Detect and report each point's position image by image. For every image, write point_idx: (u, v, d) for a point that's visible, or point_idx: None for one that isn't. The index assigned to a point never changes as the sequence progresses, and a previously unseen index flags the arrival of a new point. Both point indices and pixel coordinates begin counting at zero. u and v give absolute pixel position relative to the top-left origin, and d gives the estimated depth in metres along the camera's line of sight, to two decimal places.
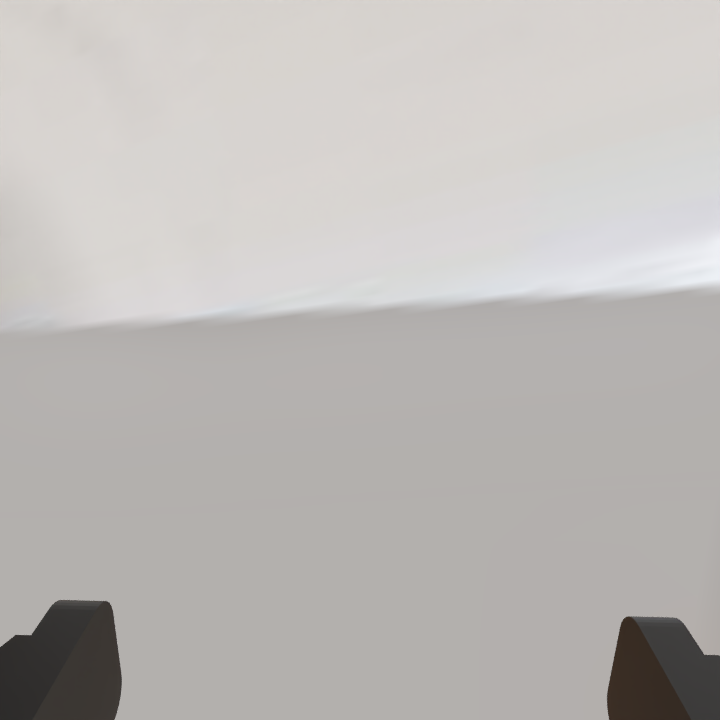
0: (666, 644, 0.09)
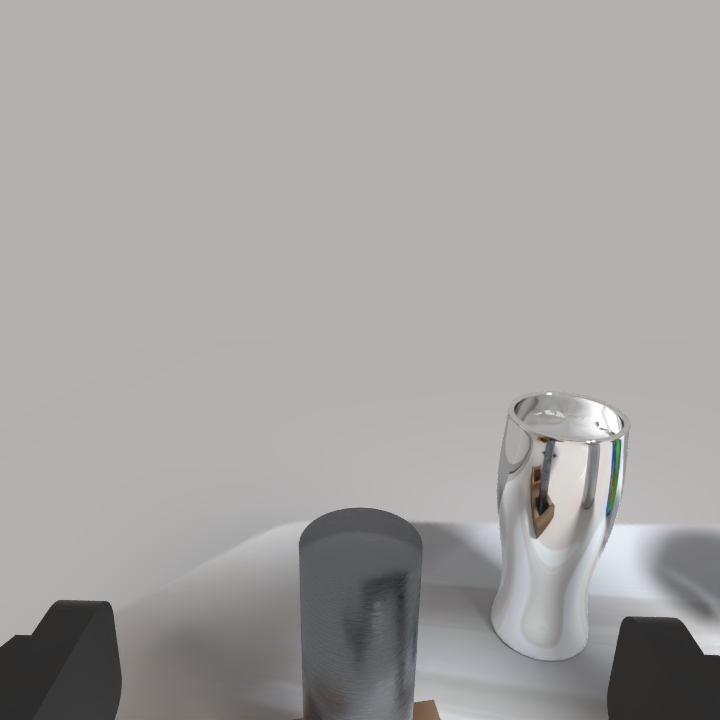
0: (666, 644, 0.09)
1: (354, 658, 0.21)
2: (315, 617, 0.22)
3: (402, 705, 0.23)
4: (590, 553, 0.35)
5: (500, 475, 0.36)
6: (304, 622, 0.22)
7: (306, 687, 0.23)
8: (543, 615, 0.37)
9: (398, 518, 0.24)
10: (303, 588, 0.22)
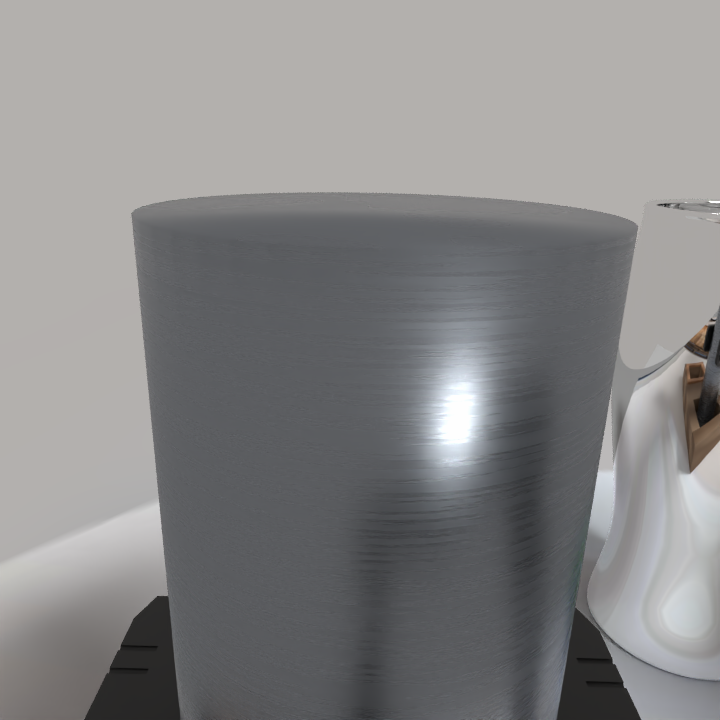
0: None
1: (354, 657, 0.05)
2: (185, 476, 0.05)
3: None
4: None
5: (626, 334, 0.20)
6: (162, 518, 0.06)
7: None
8: (703, 596, 0.20)
9: (502, 200, 0.07)
10: (147, 367, 0.05)
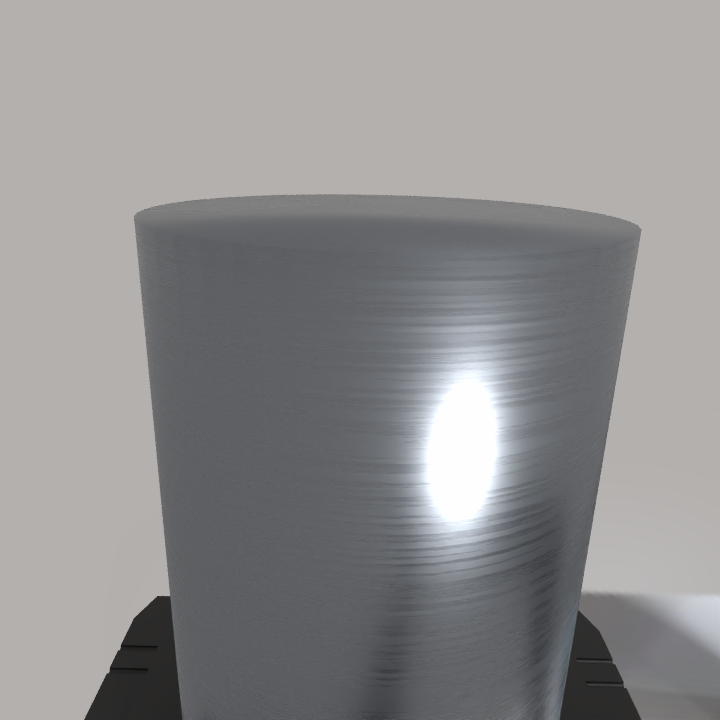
0: None
1: (357, 658, 0.05)
2: (189, 479, 0.05)
3: None
4: None
5: None
6: (165, 521, 0.06)
7: None
8: None
9: (504, 202, 0.07)
10: (150, 370, 0.05)
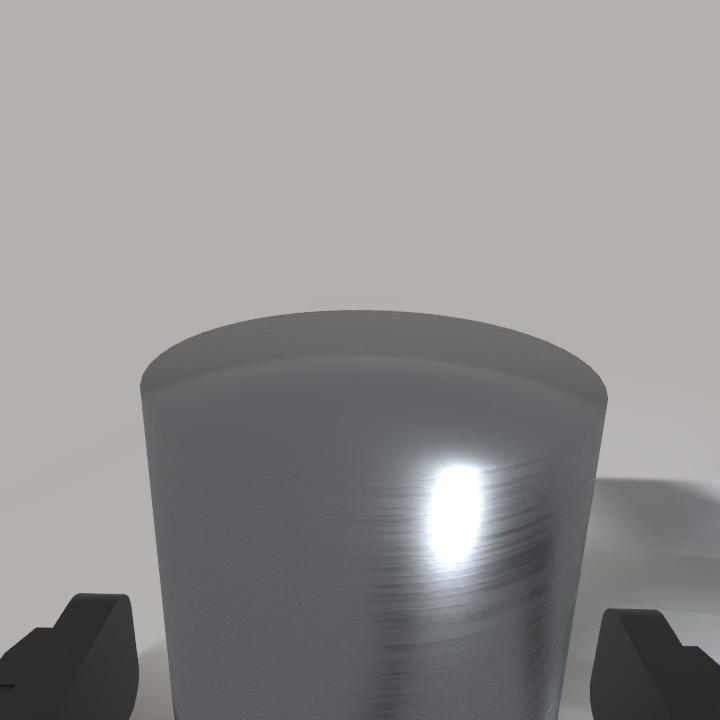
0: (645, 635, 0.09)
1: None
2: (192, 635, 0.05)
3: None
4: None
5: None
6: (168, 652, 0.06)
7: None
8: None
9: (487, 327, 0.08)
10: (155, 523, 0.06)
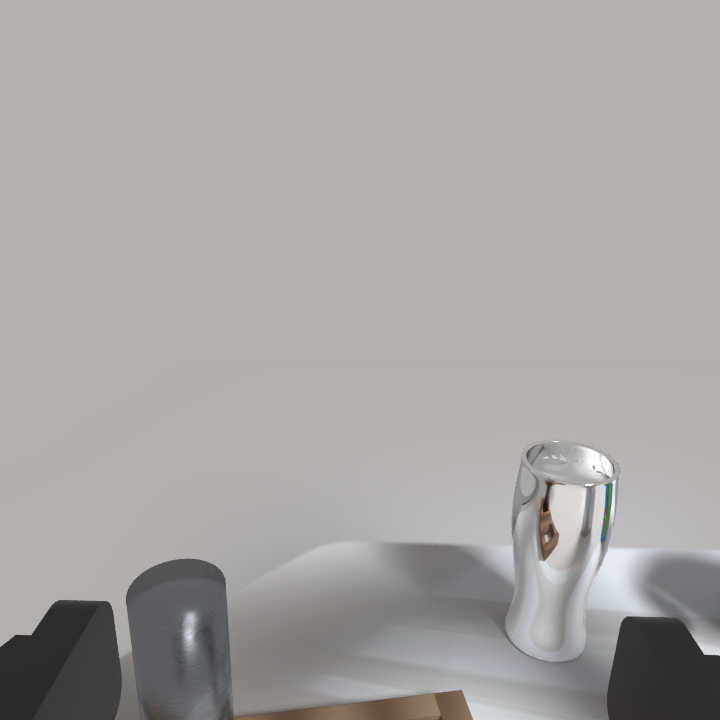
0: (666, 644, 0.09)
1: (164, 679, 0.28)
2: (135, 647, 0.28)
3: (212, 716, 0.29)
4: (587, 574, 0.43)
5: (514, 508, 0.45)
6: (132, 650, 0.29)
7: None
8: (549, 624, 0.45)
9: (215, 568, 0.30)
10: (129, 624, 0.28)
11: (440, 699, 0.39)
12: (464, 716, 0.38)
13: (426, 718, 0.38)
